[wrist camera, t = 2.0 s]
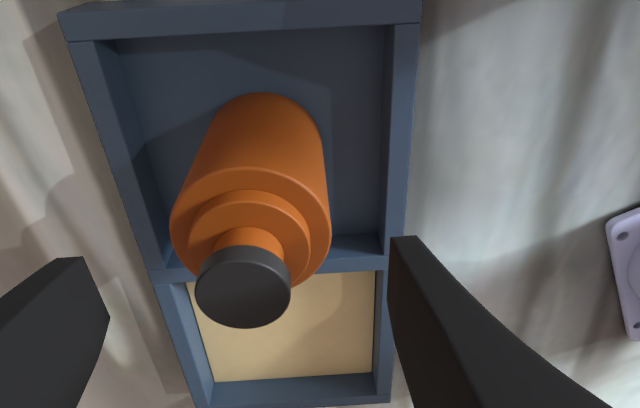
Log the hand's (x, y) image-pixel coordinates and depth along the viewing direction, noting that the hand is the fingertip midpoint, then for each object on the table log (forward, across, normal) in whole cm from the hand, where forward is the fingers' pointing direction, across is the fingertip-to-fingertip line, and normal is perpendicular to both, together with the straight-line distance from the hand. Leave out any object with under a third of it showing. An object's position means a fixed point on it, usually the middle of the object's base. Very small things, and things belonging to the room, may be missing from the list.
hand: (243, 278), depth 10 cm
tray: (+8, 0, +5) cm, 9 cm away
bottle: (+7, 0, 0) cm, 7 cm away
